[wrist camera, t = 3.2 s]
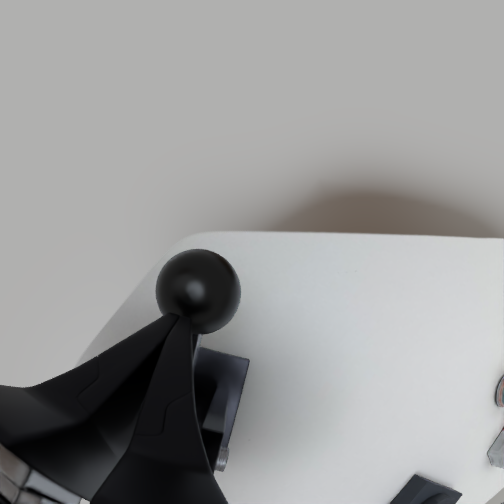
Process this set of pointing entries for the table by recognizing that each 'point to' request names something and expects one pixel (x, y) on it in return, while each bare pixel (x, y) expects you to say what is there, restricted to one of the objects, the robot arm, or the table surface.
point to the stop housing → (426, 493)
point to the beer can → (500, 394)
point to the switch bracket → (217, 400)
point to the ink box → (497, 451)
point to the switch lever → (199, 292)
